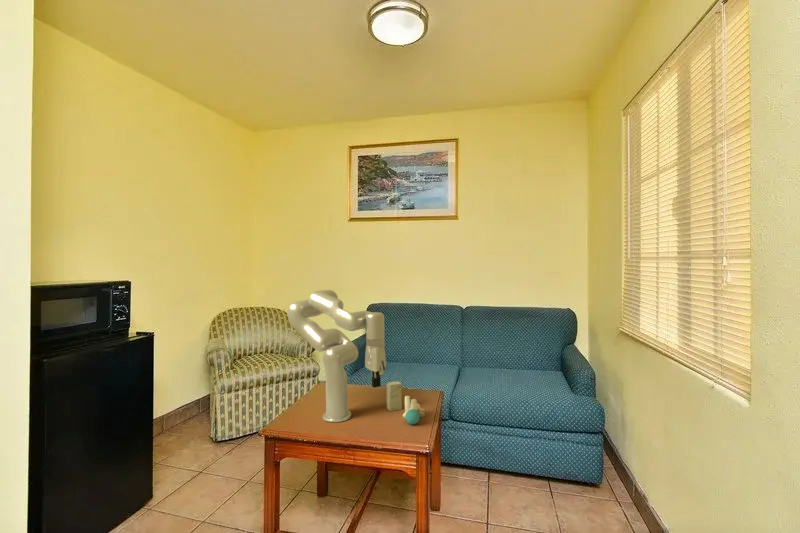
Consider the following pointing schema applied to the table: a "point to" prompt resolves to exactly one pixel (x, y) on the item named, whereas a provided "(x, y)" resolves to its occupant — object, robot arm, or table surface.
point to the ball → (412, 416)
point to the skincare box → (394, 396)
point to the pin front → (409, 409)
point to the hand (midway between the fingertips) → (376, 386)
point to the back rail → (420, 412)
